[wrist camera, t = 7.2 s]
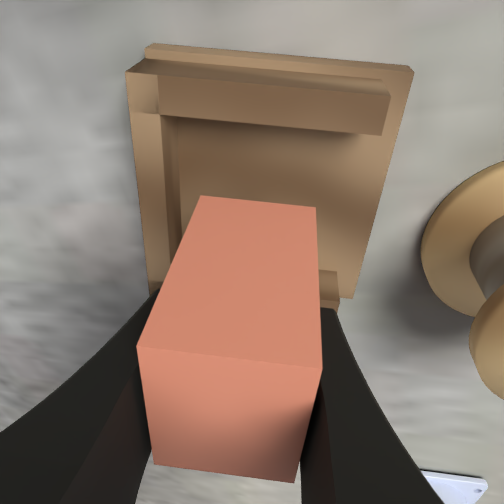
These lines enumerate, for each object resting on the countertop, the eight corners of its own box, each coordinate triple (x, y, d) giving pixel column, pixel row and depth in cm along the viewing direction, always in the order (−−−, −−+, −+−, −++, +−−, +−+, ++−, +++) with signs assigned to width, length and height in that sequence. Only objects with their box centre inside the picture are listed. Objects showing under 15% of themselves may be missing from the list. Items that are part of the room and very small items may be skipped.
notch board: (350, 285, 20) (356, 330, 18) (168, 264, 21) (150, 305, 18) (408, 65, 14) (429, 89, 12) (153, 43, 15) (123, 61, 13)
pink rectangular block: (297, 312, 14) (293, 483, 9) (201, 301, 14) (154, 464, 10) (315, 207, 12) (322, 368, 7) (200, 195, 12) (136, 346, 7)
